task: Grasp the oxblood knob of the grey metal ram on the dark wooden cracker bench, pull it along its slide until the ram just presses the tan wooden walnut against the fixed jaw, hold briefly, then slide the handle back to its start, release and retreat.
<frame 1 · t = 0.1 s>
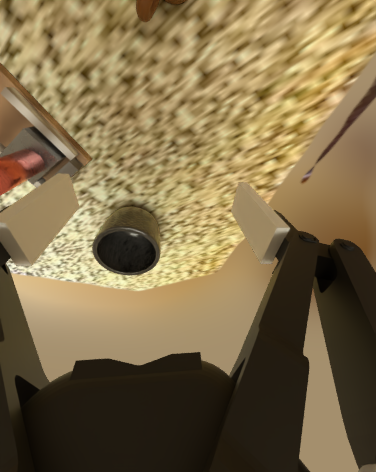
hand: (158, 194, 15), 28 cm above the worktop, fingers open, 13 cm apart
planter: (135, 221, 48), on the worktop
ram: (13, 165, 28), point 10 cm above the worktop, slide at 0.0 cm
cracker bench: (15, 121, 33), on the worktop
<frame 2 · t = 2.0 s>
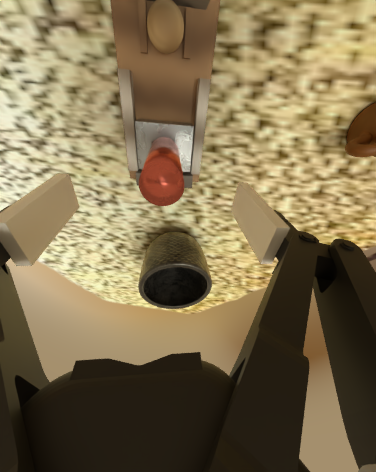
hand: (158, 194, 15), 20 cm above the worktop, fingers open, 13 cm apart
mug: (353, 130, 32), on the worktop
planter: (174, 244, 44), on the worktop
ram: (164, 156, 22), point 10 cm above the worktop, slide at 0.0 cm
cracker bench: (165, 95, 26), on the worktop
walnut: (165, 32, 21), point 2 cm above the worktop, touching cracker bench
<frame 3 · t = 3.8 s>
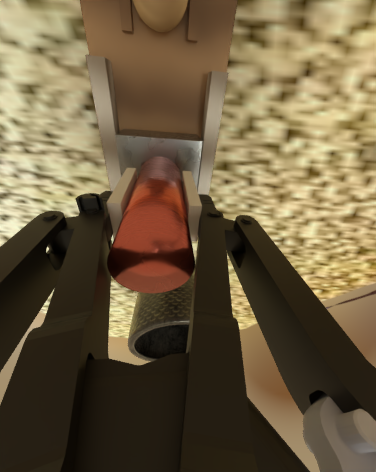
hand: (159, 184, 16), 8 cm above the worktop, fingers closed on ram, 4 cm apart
planter: (174, 275, 37), on the worktop
ram: (158, 188, 14), point 10 cm above the worktop, slide at 0.0 cm, touching gripper
cracker bench: (161, 95, 19), on the worktop
walnut: (160, 0, 14), point 2 cm above the worktop, touching cracker bench
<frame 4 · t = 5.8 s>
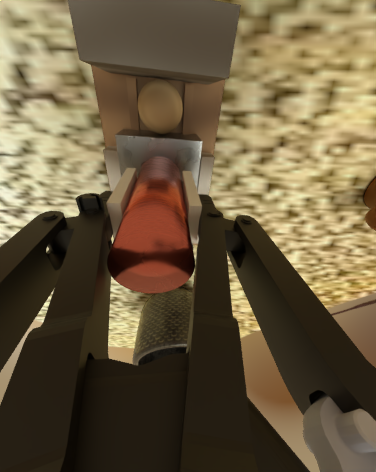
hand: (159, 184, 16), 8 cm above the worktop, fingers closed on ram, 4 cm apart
mug: (371, 189, 28), on the worktop
planter: (172, 295, 41), on the worktop
ram: (158, 188, 14), point 10 cm above the worktop, slide at 6.8 cm, touching cracker bench, gripper
cracker bench: (161, 163, 23), on the worktop
walnut: (161, 108, 18), point 2 cm above the worktop, touching cracker bench
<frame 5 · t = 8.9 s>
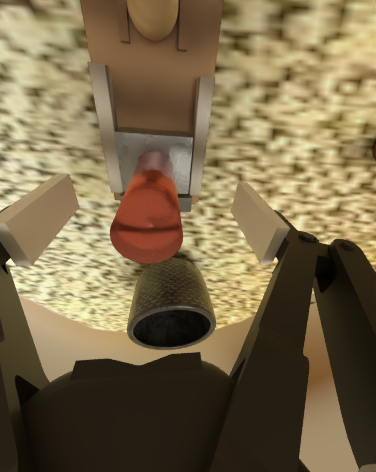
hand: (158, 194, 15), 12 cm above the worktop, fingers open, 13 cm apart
planter: (170, 269, 38), on the worktop
ram: (153, 179, 16), point 10 cm above the worktop, slide at 0.1 cm
cracker bench: (156, 98, 21), on the worktop
walnut: (153, 14, 16), point 2 cm above the worktop, touching cracker bench
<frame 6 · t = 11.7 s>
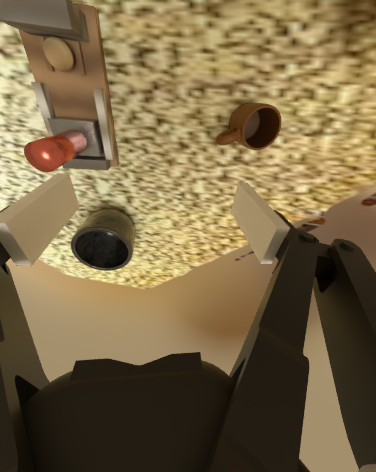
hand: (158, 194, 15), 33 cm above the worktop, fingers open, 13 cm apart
mug: (235, 126, 41), on the worktop
planter: (115, 221, 54), on the worktop
ram: (65, 142, 31), point 10 cm above the worktop, slide at 0.1 cm
cracker bench: (79, 99, 36), on the worktop
walnut: (64, 57, 31), point 2 cm above the worktop, touching cracker bench
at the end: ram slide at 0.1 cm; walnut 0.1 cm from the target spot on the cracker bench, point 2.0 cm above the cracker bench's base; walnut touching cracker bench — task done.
